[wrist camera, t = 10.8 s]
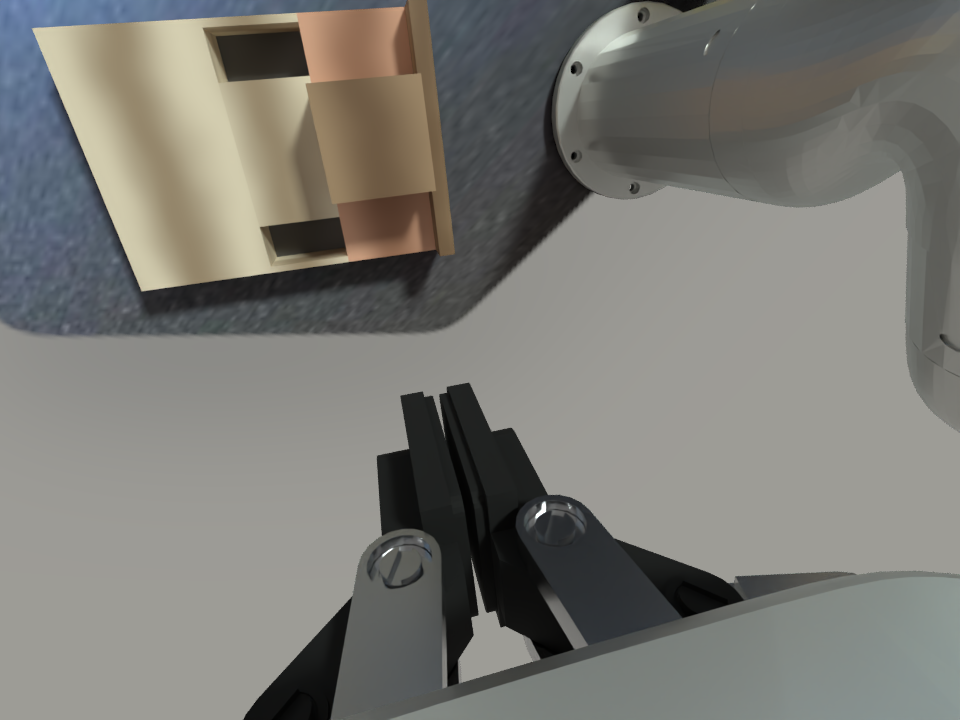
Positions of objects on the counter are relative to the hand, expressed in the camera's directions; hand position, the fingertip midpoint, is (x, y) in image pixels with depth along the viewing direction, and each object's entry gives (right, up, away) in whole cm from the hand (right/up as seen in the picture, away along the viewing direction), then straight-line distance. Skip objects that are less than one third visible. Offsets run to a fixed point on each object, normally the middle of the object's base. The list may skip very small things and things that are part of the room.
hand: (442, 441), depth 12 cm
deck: (-12, +16, +20) cm, 28 cm away
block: (-6, +16, +18) cm, 25 cm away
